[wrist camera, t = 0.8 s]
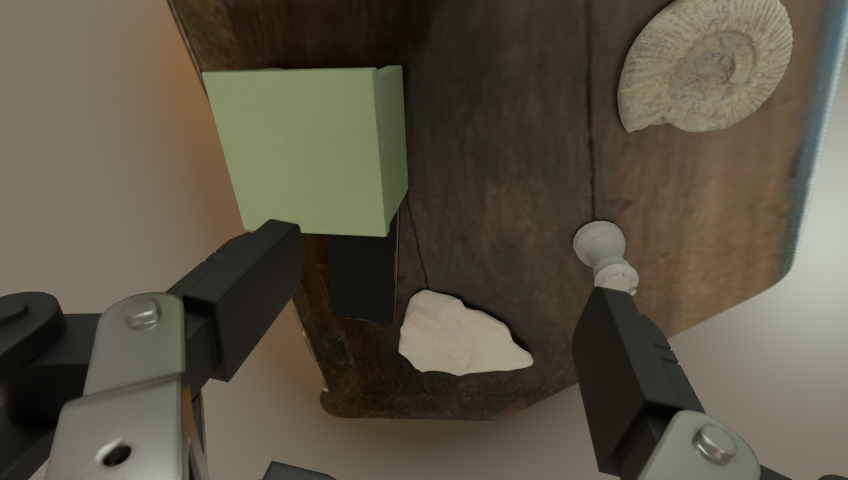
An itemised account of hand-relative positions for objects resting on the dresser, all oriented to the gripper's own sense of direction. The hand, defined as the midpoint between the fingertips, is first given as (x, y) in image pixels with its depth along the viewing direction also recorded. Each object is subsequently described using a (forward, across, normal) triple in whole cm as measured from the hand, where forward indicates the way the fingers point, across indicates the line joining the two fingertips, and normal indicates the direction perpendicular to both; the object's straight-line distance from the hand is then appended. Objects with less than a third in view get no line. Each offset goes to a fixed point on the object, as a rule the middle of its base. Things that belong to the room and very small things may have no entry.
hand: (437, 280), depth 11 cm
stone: (+26, -4, +25) cm, 37 cm away
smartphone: (+26, +9, +18) cm, 33 cm away
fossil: (+26, -15, -5) cm, 31 cm away
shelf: (+26, +12, +4) cm, 29 cm away
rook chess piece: (+26, -14, +10) cm, 31 cm away
